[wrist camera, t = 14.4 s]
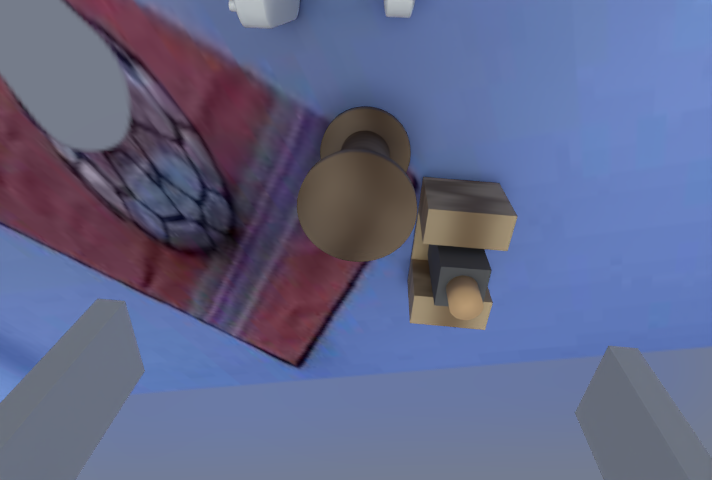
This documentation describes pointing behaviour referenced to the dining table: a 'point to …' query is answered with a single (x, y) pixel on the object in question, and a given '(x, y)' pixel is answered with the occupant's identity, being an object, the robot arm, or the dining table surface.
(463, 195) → the wooden u-shaped block
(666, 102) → the dining table surface
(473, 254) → the gray block with knob
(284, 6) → the cable organizer
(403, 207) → the bobbin
